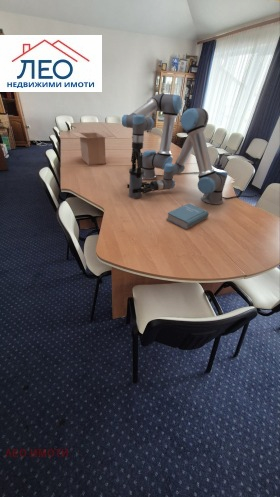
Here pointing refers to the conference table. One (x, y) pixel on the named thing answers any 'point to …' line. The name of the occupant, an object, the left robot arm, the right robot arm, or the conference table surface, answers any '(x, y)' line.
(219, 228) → the conference table surface
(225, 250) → the conference table surface
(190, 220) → the book
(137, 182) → the jar
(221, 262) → the conference table surface
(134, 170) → the lid
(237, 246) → the conference table surface
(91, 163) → the box
